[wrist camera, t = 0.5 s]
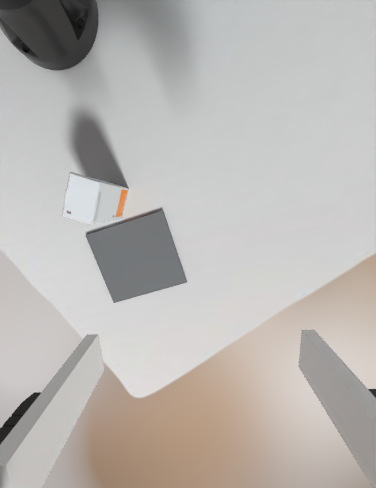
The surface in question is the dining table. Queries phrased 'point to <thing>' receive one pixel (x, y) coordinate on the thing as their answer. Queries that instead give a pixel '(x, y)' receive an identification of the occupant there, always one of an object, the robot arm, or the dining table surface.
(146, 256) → the mat
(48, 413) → the robot arm
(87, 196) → the skincare box
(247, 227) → the dining table surface
